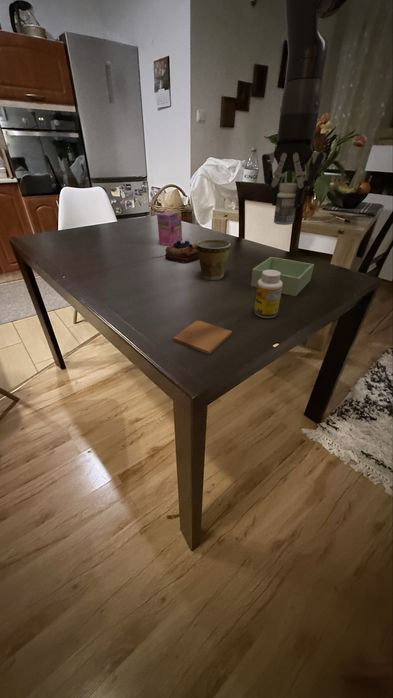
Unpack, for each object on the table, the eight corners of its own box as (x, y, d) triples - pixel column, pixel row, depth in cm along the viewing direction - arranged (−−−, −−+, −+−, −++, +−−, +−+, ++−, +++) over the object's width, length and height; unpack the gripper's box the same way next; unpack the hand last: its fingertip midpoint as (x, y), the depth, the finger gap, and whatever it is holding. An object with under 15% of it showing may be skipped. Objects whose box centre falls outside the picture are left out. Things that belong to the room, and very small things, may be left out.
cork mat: (231, 334, 61) (232, 331, 60) (209, 355, 55) (209, 351, 54) (197, 322, 65) (197, 319, 64) (173, 340, 59) (172, 337, 58)
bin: (310, 280, 84) (314, 264, 81) (295, 296, 75) (299, 278, 72) (268, 272, 90) (270, 256, 87) (250, 286, 82) (252, 269, 79)
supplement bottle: (251, 308, 70) (256, 268, 64) (274, 308, 70) (280, 267, 64) (256, 319, 65) (261, 277, 60) (280, 319, 66) (287, 276, 60)
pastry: (186, 264, 97) (185, 247, 94) (161, 258, 103) (159, 242, 100) (205, 256, 104) (205, 240, 101) (180, 251, 110) (179, 235, 107)
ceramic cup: (232, 280, 85) (235, 246, 79) (200, 283, 83) (200, 249, 78) (220, 266, 95) (222, 235, 90) (192, 269, 94) (191, 237, 88)
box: (171, 246, 116) (168, 214, 110) (159, 244, 118) (156, 214, 112) (182, 240, 124) (181, 210, 117) (171, 238, 126) (169, 209, 119)
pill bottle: (272, 221, 71) (277, 182, 66) (292, 221, 71) (298, 182, 66) (274, 225, 67) (279, 184, 63) (294, 225, 67) (301, 184, 62)
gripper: (341, 110, 56) (321, 206, 66) (273, 116, 63) (264, 202, 73) (331, 107, 51) (311, 210, 61) (258, 114, 58) (251, 206, 68)
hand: (285, 205), depth 67 cm, fingers closed on pill bottle, 4 cm apart
